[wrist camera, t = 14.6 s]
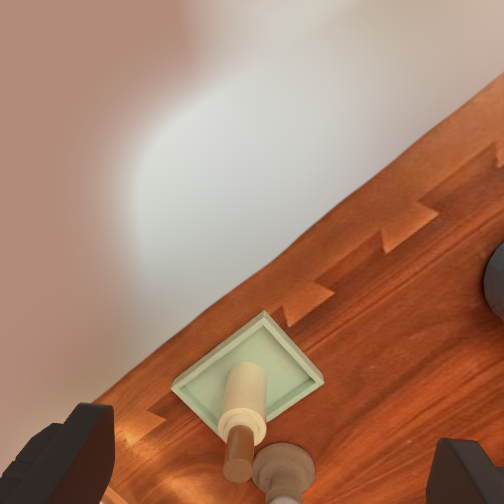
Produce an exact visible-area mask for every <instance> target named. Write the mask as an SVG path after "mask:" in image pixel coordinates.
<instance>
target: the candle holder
mask: <svg viewBox="0 0 504 504" xmlns="http://www.w3.org/2000/svg"><path fill="white" fill-rule="evenodd" d="M252 478H253V481H254V483H255V485H256V486H257V487H258V488H259V489H260V490H261V491H262V492H264V493H265V494H266V497H265V502H266V504H303V497H302V493H304V492H305V491H307V490H308V489H309V488H310V486H311V485H312V483H313V481H314V478H315V467H314V463H313V460H312V459H311V457H310V455H309V454H308V453H307V452H306V451H305V450H303V449H302V448H300V447H298V446H296V445H293V444H289V443H275V444H271V445H268V446H266V447H264V448H263V449H262V450H260V451H259V452H258V453H257V454H256V456H255V457H254V460H253V474H252Z"/></svg>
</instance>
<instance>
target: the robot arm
mask: <svg viewBox="0 0 504 504" xmlns="http://www.w3.org/2000/svg"><path fill="white" fill-rule="evenodd" d="M114 462H115V435H114V410H113V407H112V406H111V405H103V404H93V403H80V404H78V405H77V406H76V407H75V409H74V410H73V411H72V413H71V414H70V415H69V417H68V418H67V419H66V421H65V422H64V424H60V423H52V424H51V425H49V426H48V427H46V428H45V429H43V430H42V431H41V432H39V433H38V434H36V435H35V436H34V437H32V438H31V439H30V440H29V442H28V443H27V444H26V445H25V447H24V448H23V449H22V450H21V451H20V453H19V454H18V455H17V456H16V459H15V461H12V463H11V464H10V465H9V466H8V468H7V469H6V470H5V471H4V472H3V474H2V477H1V478H0V504H99V503H100V501H101V499H102V497H103V495H104V492H105V490H106V488H107V486H108V484H109V481H110V479H111V476H112V472H113V468H114ZM426 502H427V504H504V468H503V467H496V466H495V465H494V464H493V463H492V461H491V460H490V458H489V457H488V455H487V454H486V453H485V451H484V450H483V448H482V447H481V446H480V444H479V443H478V442H476V441H473V440H463V439H452V438H441V439H440V440H439V441H438V443H437V447H436V451H435V455H434V459H433V463H432V467H431V471H430V475H429V479H428V483H427V487H426Z"/></svg>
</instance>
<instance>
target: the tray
mask: <svg viewBox="0 0 504 504" xmlns="http://www.w3.org/2000/svg"><path fill="white" fill-rule="evenodd" d="M241 362H252V363H255V364H257V365H258V366H260V367H261V368H262V369H263V370H264V372H265V374H266V377H267V412H266V423H267V422H269V421H270V420H272V419H273V418H275V417H276V416H277V415H279V414H280V413H282V412H283V411H285V410H286V409H288V408H289V407H291V406H292V405H293V404H295V403H296V402H298V401H299V400H301V399H302V398H304V397H305V396H307V395H308V394H309V393H311V392H312V391H314V390H315V389H317V388H318V387H319V386H321V385H323V384H324V380H323V375H322V373H321V372H320V371H319V370H318V369H317V367H316V366H315V365H314V364H313V363H312V362H311V361H310V360H309V359H308V358H307V356H306V355H305V354H304V353H303V352H302V351H301V350H300V349H299V348H298V347H297V345H296V344H295V343H294V342H293V341H292V340H291V339H290V338H289V337H288V335H287V334H286V333H285V332H284V331H283V330H282V329H281V328H280V327H279V326H278V324H277V323H276V322H275V321H274V320H273V319H272V318H271V317H270V316H269V315H268V313H267V312H266V311H265V310H264V311H262V312H261V313H260V314H258V315H257V316H256V317H254V318H253V319H252V320H251V321H249V322H248V323H247V324H245V325H244V326H243V327H241V328H240V329H239V330H238V331H236V332H235V333H234V334H232V335H231V336H230V337H228V338H227V339H226V340H225V341H223V342H222V343H221V344H219V345H218V346H217V347H215V348H214V349H213V350H212V351H210V352H209V353H208V354H206V355H205V356H204V357H202V358H201V359H200V360H199V361H197V362H196V363H195V364H193V365H192V366H191V367H189V368H188V369H187V370H186V371H184V372H183V373H182V374H180V375H179V376H178V377H176V378H175V379H174V381H173V384H172V386H171V390H172V391H173V392H174V393H175V394H176V395H177V396H178V397H179V398H180V399H181V400H183V401H184V402H185V403H186V404H187V405H188V406H189V407H190V408H191V409H192V410H193V411H194V412H195V413H196V414H197V415H198V416H199V417H200V418H201V419H202V420H203V421H204V422H205V423H206V424H207V425H208V426H209V427H210V428H211V429H212V430H213V431H214V432H215V433H216V434H217V435H218V436H219V437H220V435H219V432H218V421H219V416H220V410H221V405H222V400H223V394H224V389H225V384H226V378H227V374H228V372H229V370H230V369H231V368H232V367H233V366H234V365H236V364H238V363H241ZM220 438H221V437H220ZM221 439H222V438H221Z"/></svg>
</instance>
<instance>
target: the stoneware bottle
mask: <svg viewBox="0 0 504 504" xmlns="http://www.w3.org/2000/svg"><path fill="white" fill-rule="evenodd" d="M266 412H267V377H266V374H265V372H264V370H263V369H262V368H261V367H260V366H258V365H257V364H255V363H252V362H241V363H238V364H236V365H234V366H233V367H232V368H231V369H230V370H229V372H228V374H227V378H226V384H225V389H224V394H223V400H222V405H221V410H220V416H219V421H218V432H219V435H220V437H221V438H222V440H223V441H224V442H225V443H226V450H225V457H224V464H223V474H224V476H225V477H226V478H227V479H228V480H229V481H231V482H234V483H243V482H246V481H247V480H249V479H250V478H251V476H252V474H253V458H254V446H256V445H258V444H259V443H260V442H261V441H262V440H263V439H264V437H265V434H266Z"/></svg>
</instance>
